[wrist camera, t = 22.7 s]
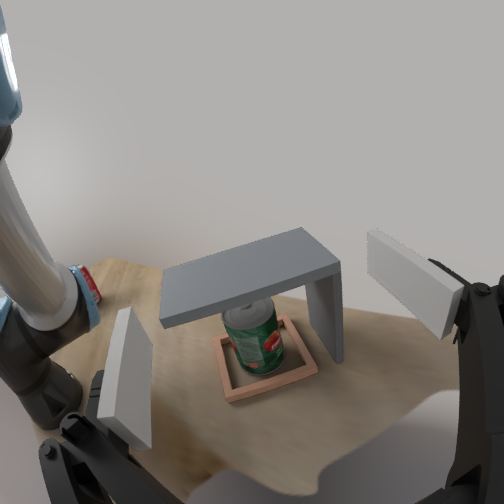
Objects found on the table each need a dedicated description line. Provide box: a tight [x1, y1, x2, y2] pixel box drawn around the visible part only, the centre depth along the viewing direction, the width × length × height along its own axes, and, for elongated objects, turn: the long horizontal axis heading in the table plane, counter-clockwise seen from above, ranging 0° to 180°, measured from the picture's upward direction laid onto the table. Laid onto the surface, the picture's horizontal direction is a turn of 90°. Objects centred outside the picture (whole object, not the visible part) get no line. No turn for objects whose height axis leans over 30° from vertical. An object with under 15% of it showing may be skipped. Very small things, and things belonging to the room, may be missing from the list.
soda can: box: [76, 264, 101, 304], centre depth 71 cm, size 7×7×12 cm
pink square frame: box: [213, 313, 318, 403], centre depth 45 cm, size 14×14×2 cm
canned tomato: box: [221, 297, 285, 376], centre depth 43 cm, size 8×8×11 cm
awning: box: [159, 227, 343, 364], centre depth 40 cm, size 22×12×18 cm, turn 104°
